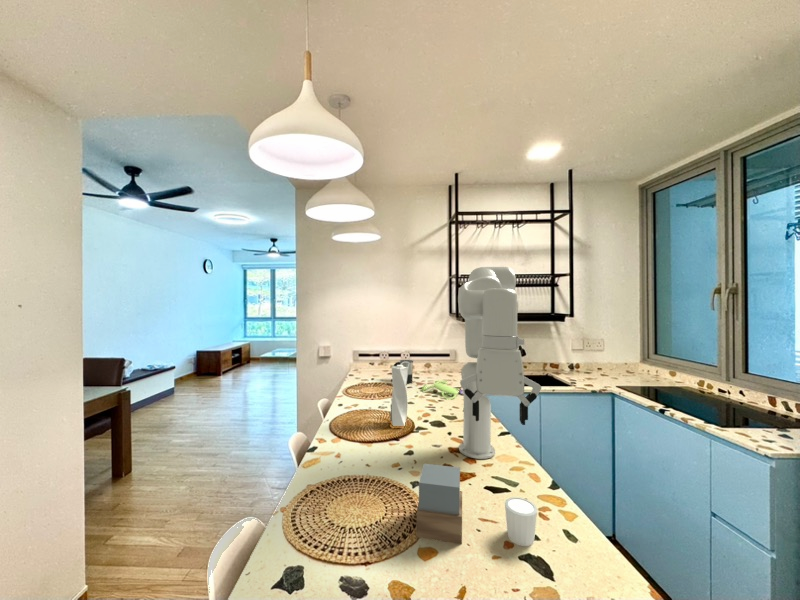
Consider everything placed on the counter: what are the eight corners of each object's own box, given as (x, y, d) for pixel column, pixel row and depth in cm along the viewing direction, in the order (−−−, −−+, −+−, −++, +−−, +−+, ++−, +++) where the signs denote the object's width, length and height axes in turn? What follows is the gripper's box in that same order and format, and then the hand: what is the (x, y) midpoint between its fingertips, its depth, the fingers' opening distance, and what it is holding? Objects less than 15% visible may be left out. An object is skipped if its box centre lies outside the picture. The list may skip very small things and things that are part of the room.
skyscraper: (408, 423, 143) (409, 360, 143) (408, 430, 135) (409, 363, 135) (390, 422, 143) (390, 359, 144) (388, 429, 135) (389, 362, 136)
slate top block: (423, 487, 81) (423, 463, 82) (459, 492, 80) (459, 467, 80) (418, 509, 73) (419, 482, 73) (459, 515, 71) (459, 487, 71)
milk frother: (413, 381, 222) (413, 359, 222) (412, 386, 206) (412, 363, 207) (393, 380, 224) (393, 359, 224) (390, 386, 208) (390, 363, 208)
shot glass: (529, 526, 76) (529, 496, 76) (543, 548, 69) (543, 515, 69) (500, 526, 76) (500, 496, 76) (511, 548, 69) (511, 515, 69)
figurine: (439, 386, 209) (439, 378, 210) (471, 396, 188) (471, 386, 188) (417, 390, 198) (418, 381, 199) (448, 401, 177) (448, 391, 177)
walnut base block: (422, 510, 82) (422, 486, 82) (462, 515, 80) (462, 491, 80) (416, 538, 72) (416, 511, 72) (461, 545, 70) (462, 517, 70)
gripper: (537, 343, 74) (537, 419, 73) (460, 341, 78) (460, 413, 77) (544, 346, 67) (545, 430, 66) (459, 343, 70) (459, 423, 70)
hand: (499, 421), depth 71 cm, fingers open, 9 cm apart
